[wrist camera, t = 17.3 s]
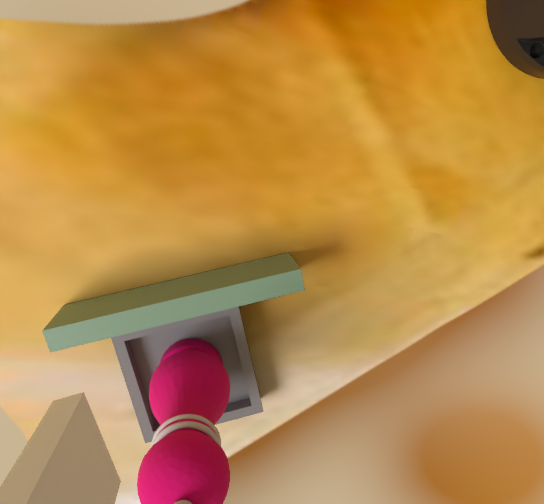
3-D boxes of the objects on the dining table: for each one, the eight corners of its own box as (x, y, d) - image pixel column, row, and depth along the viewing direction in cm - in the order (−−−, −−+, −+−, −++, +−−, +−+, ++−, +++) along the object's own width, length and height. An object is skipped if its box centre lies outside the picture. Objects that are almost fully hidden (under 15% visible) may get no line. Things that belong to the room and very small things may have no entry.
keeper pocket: (235, 294, 46) (237, 303, 43) (260, 398, 49) (263, 411, 46) (115, 323, 44) (110, 334, 42) (148, 427, 48) (145, 443, 45)
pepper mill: (176, 320, 44) (153, 455, 25) (241, 351, 46) (266, 500, 27) (141, 382, 45) (93, 557, 26) (206, 410, 47) (206, 595, 28)
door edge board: (288, 252, 45) (300, 269, 39) (292, 271, 46) (305, 290, 40) (63, 305, 43) (42, 330, 38) (70, 324, 44) (50, 352, 38)
